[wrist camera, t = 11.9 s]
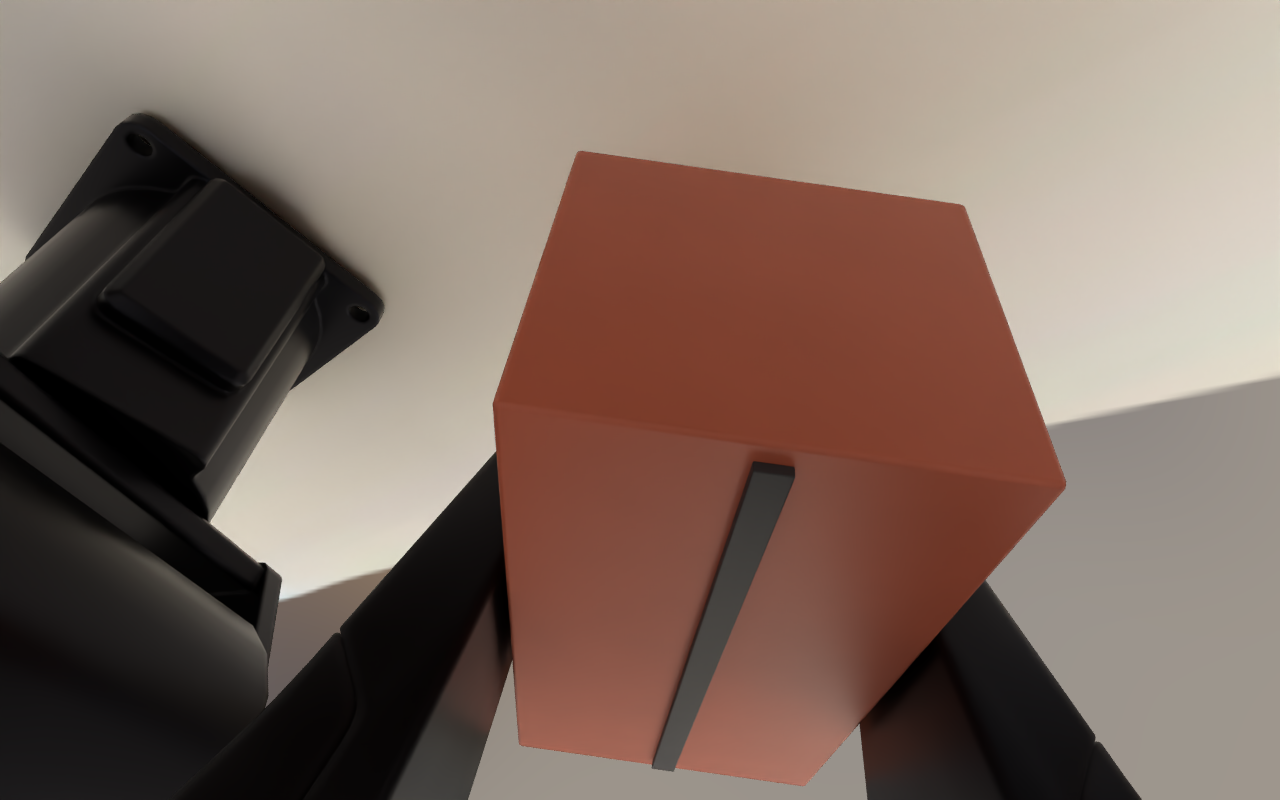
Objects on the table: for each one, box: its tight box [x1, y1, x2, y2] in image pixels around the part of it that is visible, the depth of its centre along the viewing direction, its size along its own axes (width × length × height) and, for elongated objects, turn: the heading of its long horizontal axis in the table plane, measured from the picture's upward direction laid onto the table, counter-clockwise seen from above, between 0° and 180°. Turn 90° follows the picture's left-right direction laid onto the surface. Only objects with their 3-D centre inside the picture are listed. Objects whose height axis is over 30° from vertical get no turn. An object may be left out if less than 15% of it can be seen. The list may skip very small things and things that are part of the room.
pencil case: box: [493, 151, 1066, 786], centre depth 9 cm, size 7×4×4 cm, turn 175°
